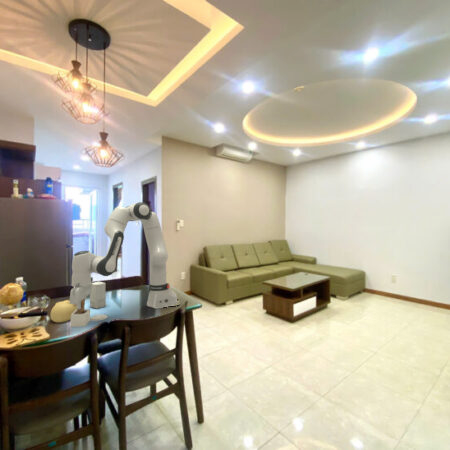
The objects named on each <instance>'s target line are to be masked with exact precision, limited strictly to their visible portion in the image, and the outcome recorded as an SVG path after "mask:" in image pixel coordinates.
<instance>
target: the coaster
mask: <svg viewBox="0 0 450 450" xmlns="http://www.w3.org/2000/svg"><path fill="white" fill-rule="evenodd" d="M106 319H108V315H107V314H97V315H93V316H90V321H93V322H99V321H103V320H106Z"/></svg>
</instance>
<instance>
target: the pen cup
mask: <svg viewBox="0 0 450 450" xmlns="http://www.w3.org/2000/svg"><path fill="white" fill-rule="evenodd" d="M90 318H91V309H84V314H77V310H76V311H74V312H73V313H72V314H71V320H70V328H75V327H76V328H79V327H86V326H87V325H88V324H89V322H91V320H90Z"/></svg>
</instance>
